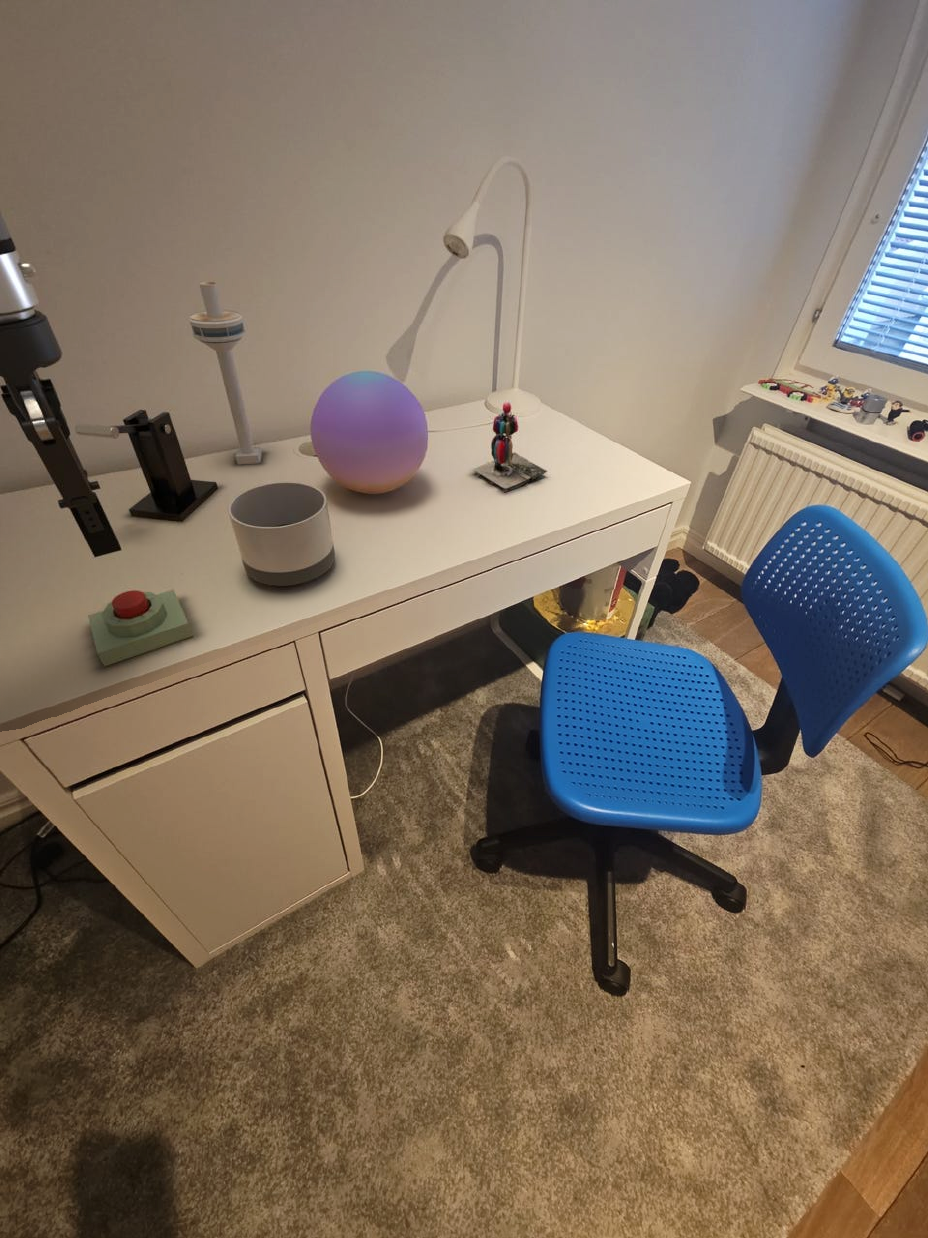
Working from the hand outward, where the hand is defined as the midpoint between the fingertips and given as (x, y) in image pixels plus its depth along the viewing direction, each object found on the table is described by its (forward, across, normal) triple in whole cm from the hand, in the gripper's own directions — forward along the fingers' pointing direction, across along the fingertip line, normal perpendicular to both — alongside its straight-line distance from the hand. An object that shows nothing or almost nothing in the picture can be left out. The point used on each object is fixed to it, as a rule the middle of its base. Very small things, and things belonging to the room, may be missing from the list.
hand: (107, 550), depth 60 cm
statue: (+13, +11, -67) cm, 69 cm away
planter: (+13, +4, -20) cm, 24 cm away
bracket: (+12, +33, -11) cm, 37 cm away
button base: (+12, 0, 0) cm, 12 cm away
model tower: (+13, +43, -27) cm, 52 cm away
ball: (+13, +20, -42) cm, 49 cm away
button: (+9, 0, 0) cm, 9 cm away
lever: (-1, +29, -7) cm, 30 cm away
